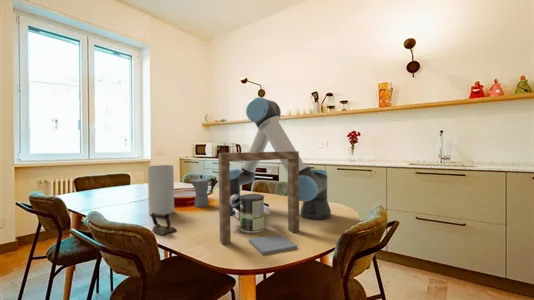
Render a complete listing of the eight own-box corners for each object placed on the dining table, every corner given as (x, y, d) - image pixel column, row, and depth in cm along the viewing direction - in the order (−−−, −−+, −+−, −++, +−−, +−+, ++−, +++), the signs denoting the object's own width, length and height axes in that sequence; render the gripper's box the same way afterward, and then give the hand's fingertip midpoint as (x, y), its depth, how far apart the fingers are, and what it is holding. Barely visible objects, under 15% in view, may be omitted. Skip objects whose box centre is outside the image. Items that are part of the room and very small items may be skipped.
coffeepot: (193, 208, 151) (193, 176, 151) (188, 205, 159) (187, 175, 158) (218, 204, 160) (218, 174, 160) (212, 202, 168) (211, 173, 167)
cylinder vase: (168, 208, 151) (167, 164, 151) (178, 213, 142) (177, 166, 142) (145, 213, 143) (144, 166, 142) (154, 217, 134) (153, 167, 133)
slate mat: (280, 236, 104) (280, 234, 104) (297, 248, 93) (297, 245, 93) (248, 241, 99) (248, 239, 99) (262, 255, 87) (262, 252, 87)
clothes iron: (164, 237, 106) (157, 213, 106) (147, 239, 112) (140, 216, 112) (178, 231, 112) (171, 208, 112) (161, 233, 118) (155, 211, 118)
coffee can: (240, 233, 109) (239, 199, 108) (240, 225, 119) (239, 194, 119) (265, 232, 110) (264, 198, 109) (263, 225, 120) (263, 193, 119)
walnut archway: (294, 229, 113) (293, 151, 113) (299, 232, 110) (298, 151, 109) (219, 241, 100) (218, 153, 100) (222, 244, 97) (221, 153, 96)
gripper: (262, 207, 136) (281, 218, 117) (213, 213, 126) (224, 226, 107) (262, 193, 136) (280, 201, 116) (213, 197, 126) (224, 207, 106)
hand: (254, 213), depth 112 cm, fingers open, 13 cm apart
